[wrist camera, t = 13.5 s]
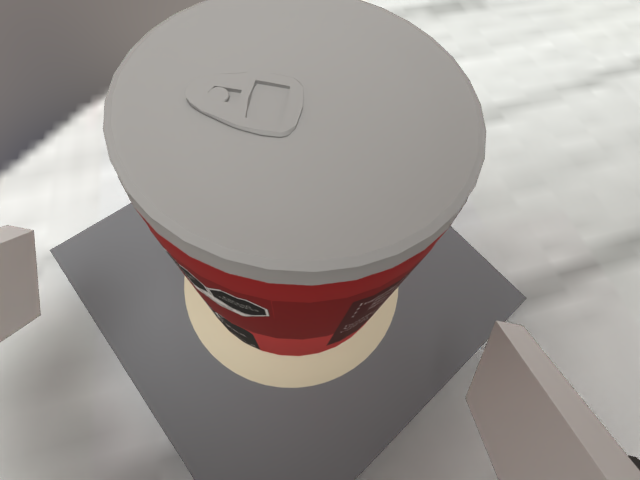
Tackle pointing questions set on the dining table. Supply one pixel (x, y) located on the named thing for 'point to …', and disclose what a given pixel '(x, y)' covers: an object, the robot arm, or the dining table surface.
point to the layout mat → (280, 357)
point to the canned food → (294, 158)
